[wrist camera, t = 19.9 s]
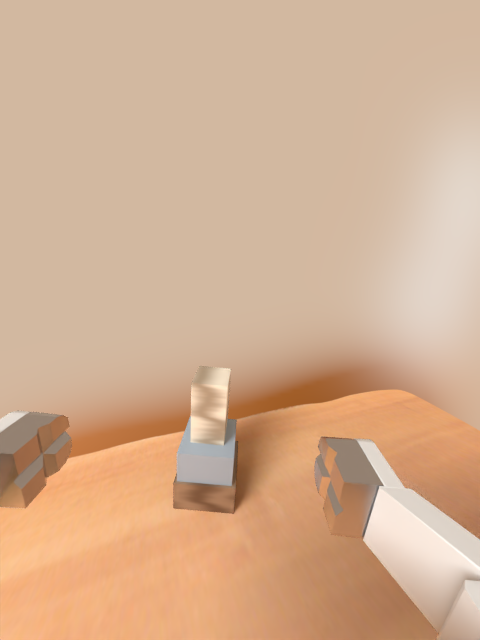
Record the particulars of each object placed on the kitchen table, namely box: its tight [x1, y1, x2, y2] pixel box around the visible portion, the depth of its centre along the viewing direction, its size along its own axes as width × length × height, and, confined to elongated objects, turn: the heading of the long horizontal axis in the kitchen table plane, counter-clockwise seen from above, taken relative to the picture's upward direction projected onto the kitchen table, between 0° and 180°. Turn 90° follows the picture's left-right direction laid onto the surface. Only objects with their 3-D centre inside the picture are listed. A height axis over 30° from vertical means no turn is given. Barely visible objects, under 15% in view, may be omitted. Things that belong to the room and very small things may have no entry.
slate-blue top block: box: [177, 416, 236, 486], centre depth 37 cm, size 8×8×5 cm
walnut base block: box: [173, 441, 238, 514], centre depth 39 cm, size 9×9×5 cm
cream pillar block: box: [190, 366, 231, 446], centre depth 36 cm, size 5×5×10 cm
